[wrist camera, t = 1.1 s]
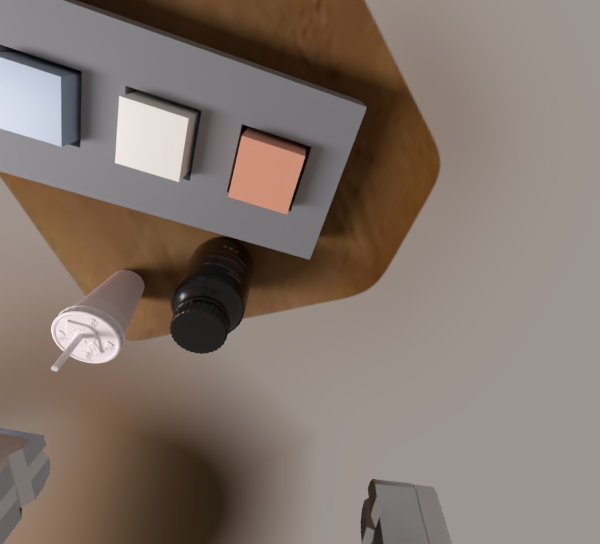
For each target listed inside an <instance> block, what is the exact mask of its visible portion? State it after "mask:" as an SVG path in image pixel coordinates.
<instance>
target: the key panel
mask: <svg viewBox="0 0 600 544" xmlns="http://www.w3.org/2000/svg"><path fill="white" fill-rule="evenodd" d="M0 52H25V53H28V54H31V55H34V56H37V57H40V58H43V59H46V60H49V61H52V62H55V63H58V64H61V65H64V66H67V67H70V68H73V69H76V70H79V71H82V85H81V139H80V140H78V141H75V142H73V143H70V144H68V145H65V146H63V147H60V146H57V145H54V144H50V143H47V142H44V141H40V140H37V139H34V138H30V137H27V136H24V135H20V134H17V133H14V132H10V131H7V130H4V129H0V171H1V172H4V173H8V174H11V175H15V176H18V177H22V178H25V179H29V180H32V181H36V182H39V183H43V184H46V185H50V186H53V187H57V188H60V189H64V190H67V191H71V192H74V193H78V194H81V195H85V196H88V197H92V198H95V199H99V200H102V201H106V202H109V203H113V204H116V205H120V206H123V207H127V208H130V209H134V210H137V211H141V212H144V213H148V214H151V215H155V216H158V217H162V218H165V219H169V220H172V221H176V222H179V223H183V224H186V225H190V226H193V227H197V228H200V229H204V230H207V231H211V232H214V233H218V234H221V235H225V236H228V237H232V238H235V239H239V240H242V241H246V242H249V243H253V244H256V245H260V246H263V247H267V248H270V249H274V250H277V251H281V252H284V253H288V254H291V255H295V256H298V257H302V258H305V259H309V260H310V258H311V256H312V253H313V250H314V248H315V245H316V242H317V240H318V237H319V234H320V232H321V229H322V226H323V224H324V221H325V218H326V216H327V213H328V210H329V207H330V205H331V202H332V199H333V197H334V194H335V191H336V189H337V186H338V183H339V181H340V178H341V175H342V173H343V170H344V167H345V165H346V162H347V159H348V157H349V154H350V151H351V149H352V146H353V143H354V141H355V138H356V135H357V133H358V130H359V127H360V125H361V122H362V119H363V117H364V114H365V111H366V109H367V107H366V106H365V105H364V104H363V103H362V102H361V101H360V100H358V99H355V98H353V97H350V96H347V95H344V94H341V93H338V92H336V91H333V90H330V89H327V88H324V87H321V86H319V85H316V84H313V83H310V82H307V81H304V80H302V79H299V78H296V77H293V76H290V75H288V74H285V73H282V72H279V71H276V70H273V69H271V68H268V67H265V66H262V65H259V64H256V63H254V62H251V61H248V60H245V59H242V58H239V57H237V56H234V55H231V54H228V53H225V52H222V51H220V50H217V49H214V48H211V47H208V46H206V45H203V44H200V43H197V42H194V41H191V40H189V39H186V38H183V37H180V36H177V35H174V34H172V33H169V32H166V31H163V30H160V29H157V28H155V27H152V26H149V25H146V24H143V23H140V22H138V21H135V20H132V19H129V18H126V17H124V16H121V15H118V14H115V13H112V12H109V11H107V10H104V9H101V8H98V7H95V6H92V5H90V4H87V3H84V2H81V1H78V0H0ZM137 91H143V92H146V93H149V94H152V95H155V96H158V97H161V98H164V99H167V100H170V101H173V102H176V103H179V104H182V105H186V106H189V107H192V108H195V109H198V110H201V117H200V123H199V129H198V135H197V141H196V147H195V153H194V159H193V165H192V169H191V170H190V171H189V172H188V173H187V174H186V175H185V176H184V177H183V178H182V179H181V180H180V182H177V181H173V180H170V179H167V178H163V177H160V176H157V175H153V174H150V173H147V172H143V171H140V170H137V169H133V168H130V167H127V166H123V165H120V164H117V163H115V154H116V138H117V122H118V107H119V96H120V95H125V94H129V93H133V92H137ZM248 127H252V128H255V129H258V130H261V131H265V132H268V133H271V134H274V135H277V136H280V137H283V138H286V139H289V140H292V141H295V142H298V143H301V144H304V145H306V152H305V159H304V162H303V165H302V169H301V172H300V175H299V178H298V181H297V184H296V188H295V191H294V194H293V197H292V200H291V203H290V207H289V210H288V213H287V215H286V214H283V213H280V212H277V211H273V210H270V209H267V208H263V207H260V206H257V205H253V204H250V203H247V202H243V201H240V200H237V199H233V198H230V197H228V195H229V190H230V186H231V181H232V177H233V172H234V168H235V164H236V159H237V155H238V150H239V146H240V141H241V137H242V135H243V133H244V132H245V131H246V130H247V128H248Z"/></svg>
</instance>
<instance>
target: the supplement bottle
mask: <svg viewBox="0 0 600 544" xmlns="http://www.w3.org/2000/svg"><path fill="white" fill-rule="evenodd" d="M252 276H253V262H252V259H251V256H250V255H249V253H248V252H247V250H246V249H245V248H244V247H242V246H241V245H240V244H238V243H236V242H234V241H232V240H228V239H220V238H219V239H212V240H209V241H206V242H204V243H203V244H201V245H200V246H199V247H198V248H197V249H196V251H195V252H194V254H193V256H192V257H191V259H190V261H189V263H188V265H187V266H186V268H185V270H184V272H183V274H182V276H181V277H180V279H179V281H178V283H177V285H176V287H175V289H174V291H173V293H172V296H171V310H172V313H173V318H172V321H171V326H170V330H171V331H170V333H171V334H172V337H173V338H174V341H175V342H177V344H178V345H180V346H181V347H182V348H184V349H186V350H187V351H190V352H195V353H201V354H203V353H209V352H213V351H215V350H217V349H218V348H220V347H221V346H222V345H223V344H224V342H225V340H226V338H227V334H228V333H230V332H231V331H232V330H234V329H235V328H236V327H237V326H238V325H239V324H240V322H241V321H242V319H243V316H244V313H245V308H246V304H247V299H248V295H249V290H250V286H251V281H252Z"/></svg>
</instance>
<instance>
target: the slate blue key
mask: <svg viewBox="0 0 600 544" xmlns="http://www.w3.org/2000/svg"><path fill="white" fill-rule="evenodd" d="M81 85H82V71H79V70H76V69H73V68H70V67H67V66H64V65H61V64H58V63H55V62H52V61H49V60H46V59H43V58H40V57H37V56H34V55H31V54H28V53H25V52H0V129H4V130H7V131H10V132H14V133H17V134H20V135H24V136H27V137H30V138H34V139H37V140H40V141H44V142H47V143H50V144H54V145H57V146H60V147H63V146H65V145H68V144H70V143H73V142H75V141H78V140H80V139H81Z"/></svg>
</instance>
